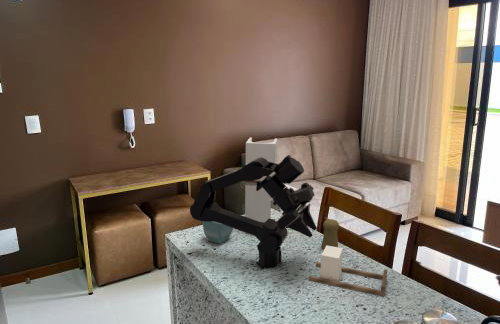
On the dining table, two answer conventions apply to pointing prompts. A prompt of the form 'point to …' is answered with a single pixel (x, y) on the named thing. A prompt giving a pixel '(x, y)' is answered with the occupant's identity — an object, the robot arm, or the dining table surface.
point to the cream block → (331, 263)
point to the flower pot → (216, 231)
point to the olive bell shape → (330, 233)
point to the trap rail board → (351, 286)
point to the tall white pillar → (258, 200)
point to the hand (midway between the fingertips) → (313, 232)
